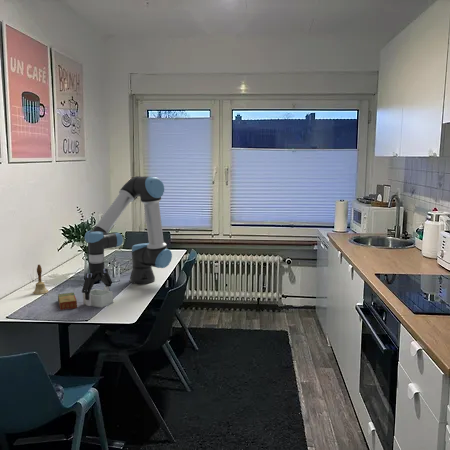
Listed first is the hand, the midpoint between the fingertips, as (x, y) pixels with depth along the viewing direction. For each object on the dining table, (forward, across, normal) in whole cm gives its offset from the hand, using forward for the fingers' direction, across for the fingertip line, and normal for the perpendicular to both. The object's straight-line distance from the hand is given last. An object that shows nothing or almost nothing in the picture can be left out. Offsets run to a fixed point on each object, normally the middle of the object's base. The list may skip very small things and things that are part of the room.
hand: (98, 301), depth 236 cm
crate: (+1, 0, 0) cm, 1 cm away
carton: (+2, +8, -14) cm, 16 cm away
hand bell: (+1, -1, -43) cm, 43 cm away
